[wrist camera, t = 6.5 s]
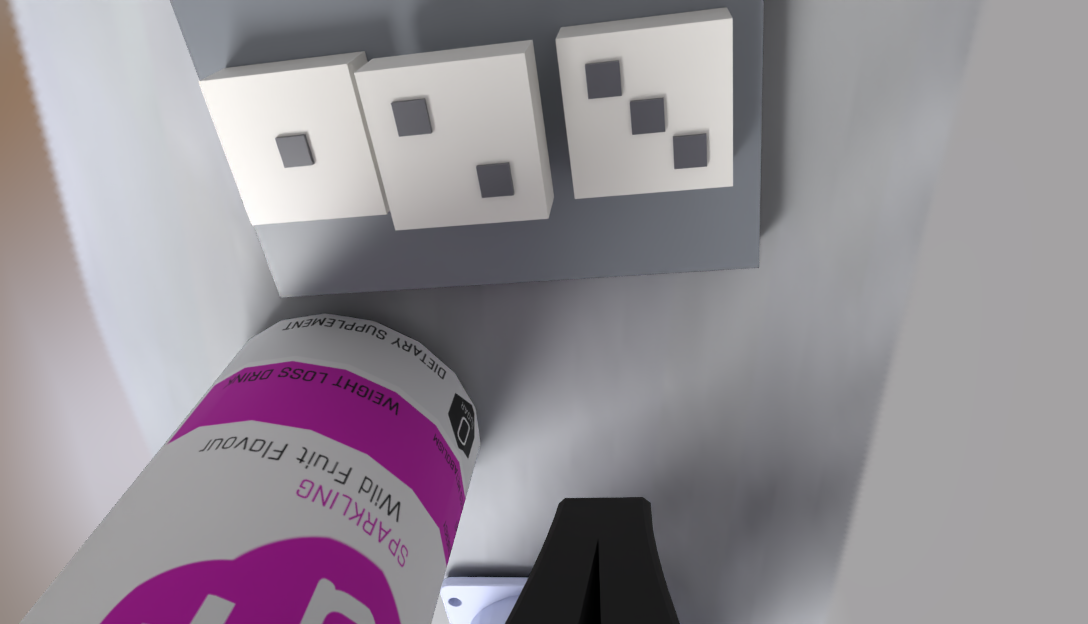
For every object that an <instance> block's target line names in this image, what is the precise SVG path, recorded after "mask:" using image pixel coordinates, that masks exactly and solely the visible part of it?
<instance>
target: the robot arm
mask: <svg viewBox="0 0 1088 624" xmlns="http://www.w3.org/2000/svg"><path fill="white" fill-rule="evenodd" d="M440 594H441V597H442V600H443V604H444V607H445V610H446V613H447V616H448V619H449V623H450V624H680V623H679V620H678V617H677V614H676V611H675V608H674V606H673V603H672V600H671V597H670V594H669V591H668V588H667V585H666V581H665V578H664V575H663V571H662V567H661V564H660V560H659V556H658V552H657V548H656V543H655V539H654V533H653V526H652V514H651V503H650V502H649V501H647V500H646V499H645V498H643V497H627V498H565V499H564V500H563V501H561V502H560V503H559V505H558V508H557V511H556V514H555V517H554V520H553V522H552V525H551V527H550V530H549V533H548V535H547V537H546V540H545V542H544V545H543V547H542V549H541V551H540V554H539V556H538V558H537V560H536V562H535V565H534V567H533V569H532V571H531V573H530V575H529V577H448V578H446V579H444V580H443V582H442V586H441V590H440Z"/></svg>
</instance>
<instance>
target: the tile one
mask: <svg viewBox="0 0 1088 624" xmlns="http://www.w3.org/2000/svg"><path fill="white" fill-rule="evenodd" d="M367 62H368V61H367V58H366V54H365V51H361V52H353V53H345V54H336V55H328V56H320V57H312V58H303V59H295V60H287V61H278V62H270V63H262V64H254V65H245V66H237V67H229V68H223V69H221V70H220V71H218V72H216V73H214V74H212V75H210V76H208V77H206V78H204V79H202V80H200V81H198V82H199V85H200V88H201V90H202V93H203V96H204V99H205V101H206V104H207V107H208V109H209V112H210V115H211V117H212V120H213V123H214V125H215V128H216V131H217V133H218V136H219V139H220V142H221V144H222V147H223V150H224V152H225V155H226V158H227V160H228V163H229V166H230V168H231V171H232V174H233V176H234V179H235V182H236V185H237V187H238V190H239V193H240V195H241V198H242V201H243V203H244V206H245V209H246V211H247V214H248V217H249V219H250V222H251V225H262V224H274V223H287V222H299V221H312V220H324V219H336V218H349V217H361V216H374V215H386V214H388V212H389V211H390V208H389V204H388V201H387V197H386V193H385V189H384V185H383V181H382V178H381V174H380V170H379V166H378V162H377V159H376V155H375V151H374V147H373V143H372V140H371V136H370V132H369V128H368V124H367V121H366V117H365V113H364V109H363V105H362V102H361V98H360V94H359V90H358V86H357V83H356V79H355V75H354V72H356V71H357V70H358V69H360V68H361V67H362V66H364V65H365V64H366V63H367Z"/></svg>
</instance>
